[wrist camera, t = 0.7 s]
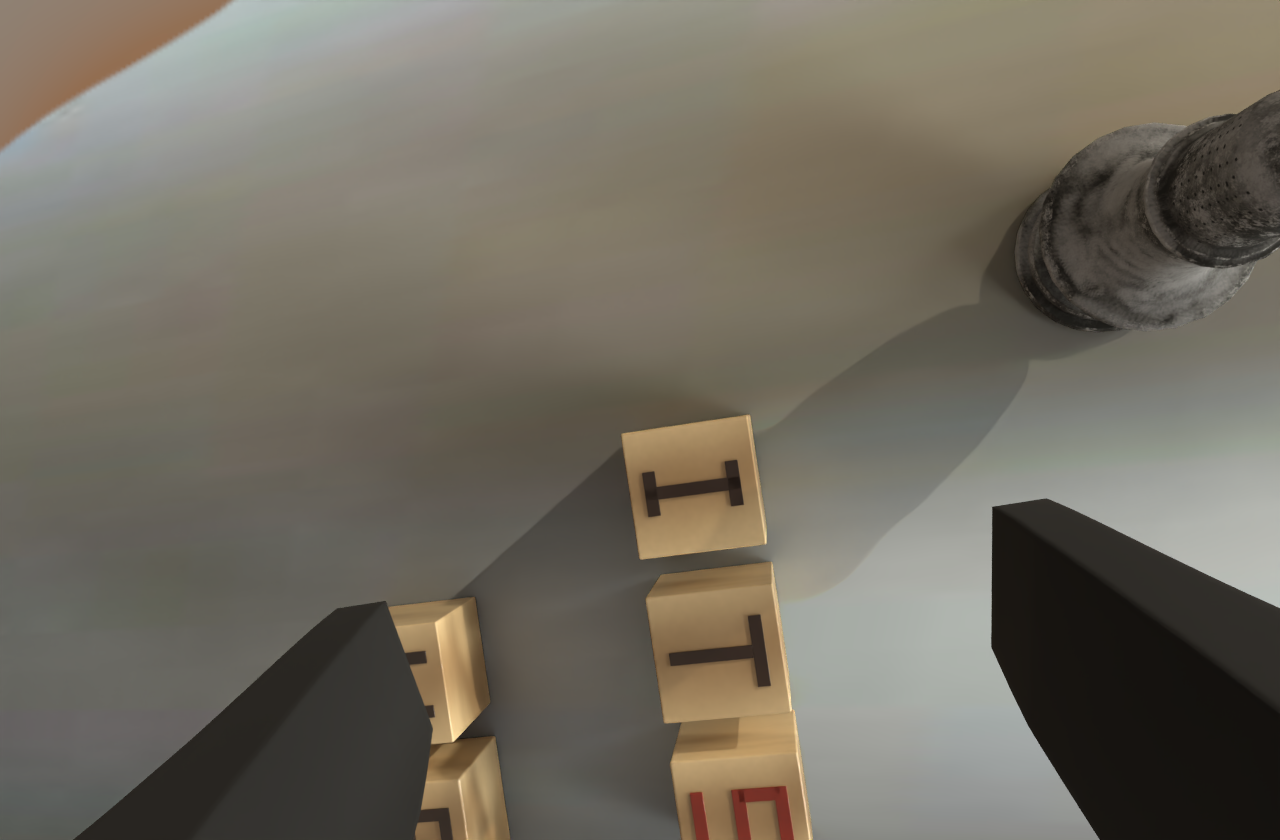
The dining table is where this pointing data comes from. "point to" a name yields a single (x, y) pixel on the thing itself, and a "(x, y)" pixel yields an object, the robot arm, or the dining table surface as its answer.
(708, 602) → the tile
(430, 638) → the tile
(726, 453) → the tile
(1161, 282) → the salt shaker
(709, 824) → the tile
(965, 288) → the dining table surface
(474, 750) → the tile
